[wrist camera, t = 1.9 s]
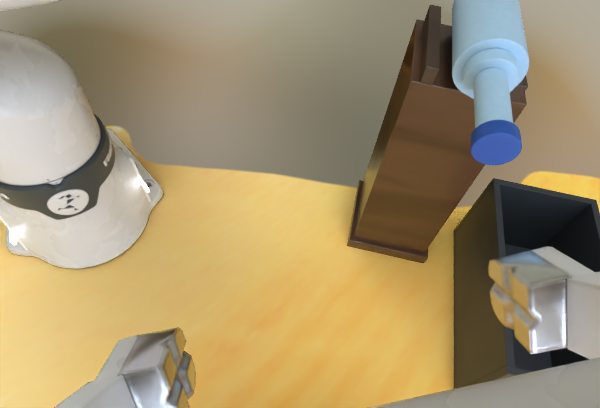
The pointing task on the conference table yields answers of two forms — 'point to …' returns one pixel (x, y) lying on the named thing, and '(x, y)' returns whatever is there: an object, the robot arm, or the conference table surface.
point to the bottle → (490, 72)
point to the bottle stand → (420, 150)
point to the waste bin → (503, 242)
